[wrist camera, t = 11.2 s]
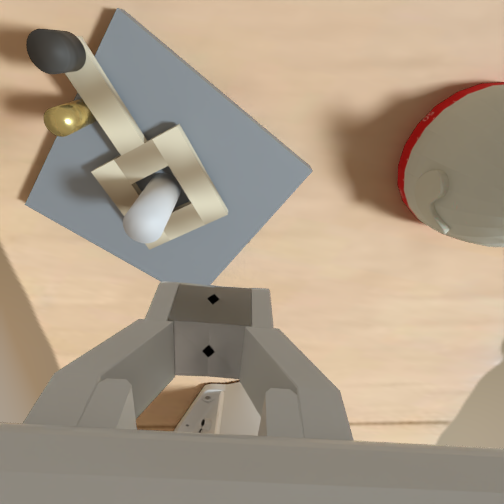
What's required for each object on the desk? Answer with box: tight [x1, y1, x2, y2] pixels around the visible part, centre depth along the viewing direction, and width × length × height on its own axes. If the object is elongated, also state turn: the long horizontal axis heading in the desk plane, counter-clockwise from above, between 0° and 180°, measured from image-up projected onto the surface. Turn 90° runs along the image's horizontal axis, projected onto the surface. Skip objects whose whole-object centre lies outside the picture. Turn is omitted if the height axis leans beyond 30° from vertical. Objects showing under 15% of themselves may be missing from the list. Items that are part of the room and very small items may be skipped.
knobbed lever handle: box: [27, 29, 228, 250], centre depth 28 cm, size 18×9×4 cm, turn 26°
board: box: [25, 8, 312, 285], centre depth 29 cm, size 20×20×10 cm
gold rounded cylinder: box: [44, 99, 97, 137], centre depth 26 cm, size 2×2×5 cm
